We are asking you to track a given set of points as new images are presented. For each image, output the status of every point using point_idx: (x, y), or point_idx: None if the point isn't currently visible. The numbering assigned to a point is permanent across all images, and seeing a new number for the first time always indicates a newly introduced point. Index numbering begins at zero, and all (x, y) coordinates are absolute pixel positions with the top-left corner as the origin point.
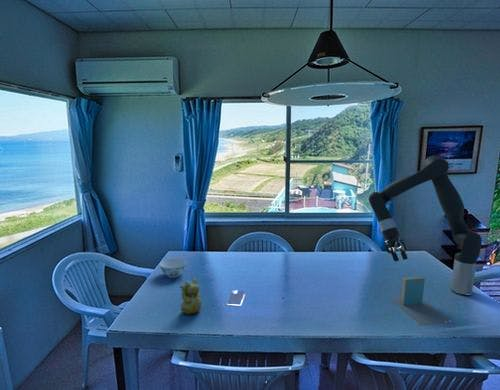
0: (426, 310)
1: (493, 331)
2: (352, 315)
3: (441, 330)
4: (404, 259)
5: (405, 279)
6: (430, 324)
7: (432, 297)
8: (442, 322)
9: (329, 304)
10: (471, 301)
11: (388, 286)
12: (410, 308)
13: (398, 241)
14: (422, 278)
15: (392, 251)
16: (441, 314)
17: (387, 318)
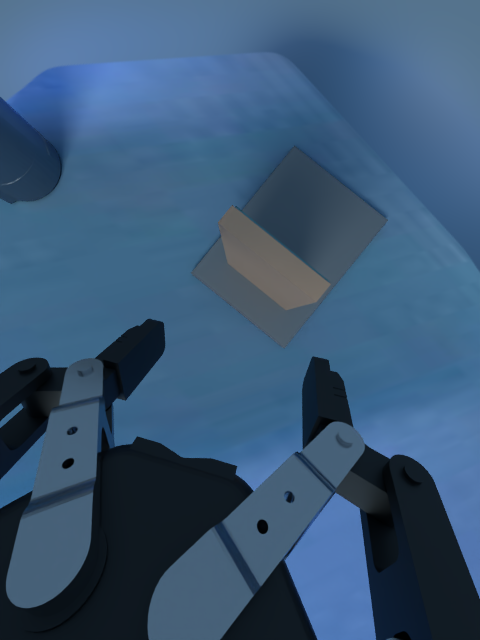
0: (276, 230)
1: (260, 56)
2: (464, 409)
3: (360, 173)
4: (163, 342)
5: (329, 285)
6: (362, 200)
7: (148, 240)
8: (323, 174)
9: (451, 500)
10: (88, 130)
11: (165, 389)
12: None
13: (84, 563)
14: (244, 215)
15: (420, 466)
16: (271, 186)
17: (403, 317)
